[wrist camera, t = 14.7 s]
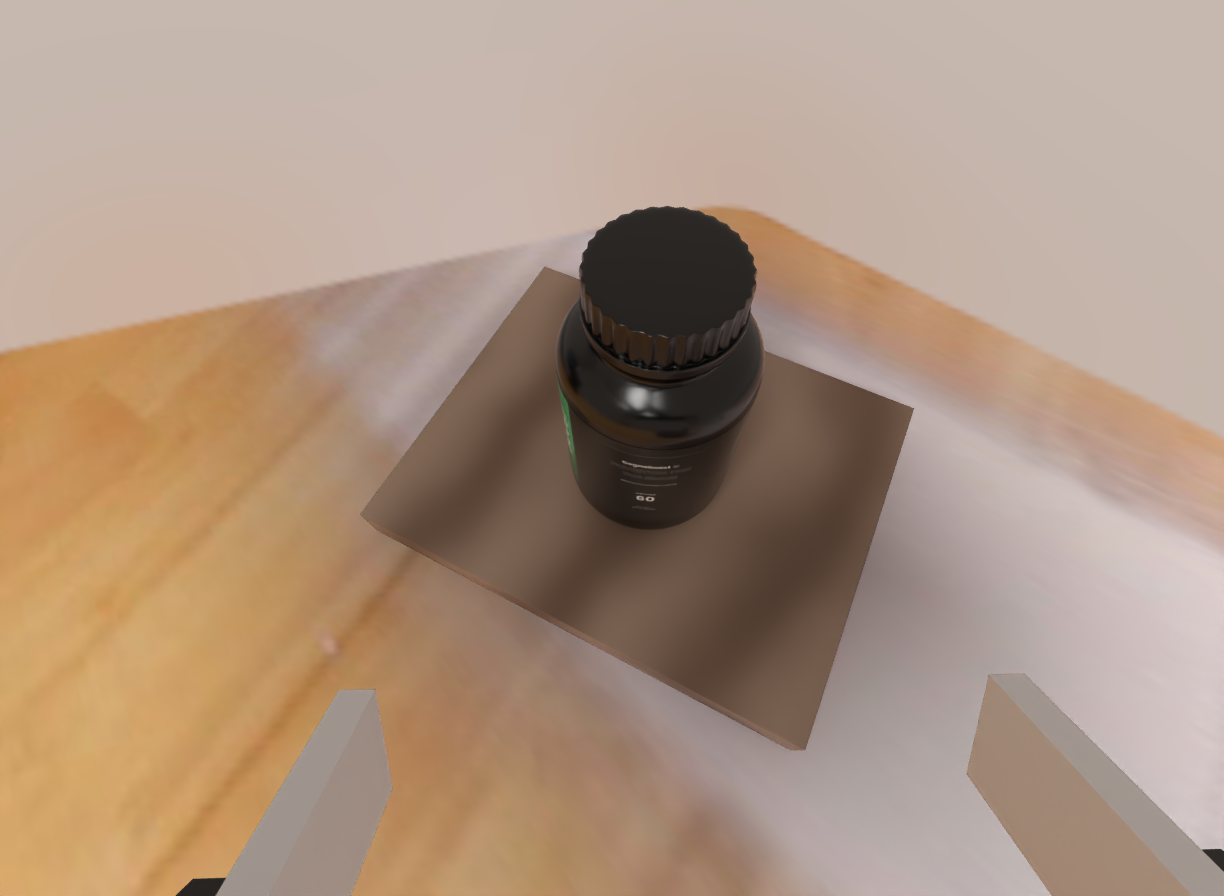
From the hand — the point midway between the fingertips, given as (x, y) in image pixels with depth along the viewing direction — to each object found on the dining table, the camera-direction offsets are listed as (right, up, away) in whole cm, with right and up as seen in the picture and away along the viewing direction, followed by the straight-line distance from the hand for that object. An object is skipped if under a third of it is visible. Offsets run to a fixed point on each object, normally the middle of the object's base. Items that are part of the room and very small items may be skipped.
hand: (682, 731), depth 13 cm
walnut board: (0, +5, +15) cm, 16 cm away
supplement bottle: (0, +5, +14) cm, 15 cm away
